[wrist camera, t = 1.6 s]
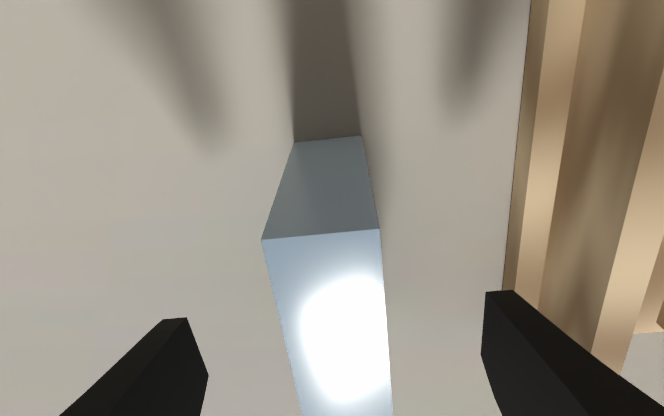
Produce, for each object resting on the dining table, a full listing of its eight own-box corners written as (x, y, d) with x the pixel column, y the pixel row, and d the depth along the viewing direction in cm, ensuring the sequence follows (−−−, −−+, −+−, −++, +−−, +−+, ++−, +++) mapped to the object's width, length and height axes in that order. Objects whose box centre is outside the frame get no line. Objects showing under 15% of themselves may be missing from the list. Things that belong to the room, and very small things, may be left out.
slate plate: (376, 303, 15) (396, 458, 10) (321, 308, 16) (313, 462, 10) (361, 134, 12) (379, 228, 7) (293, 142, 12) (260, 239, 7)
